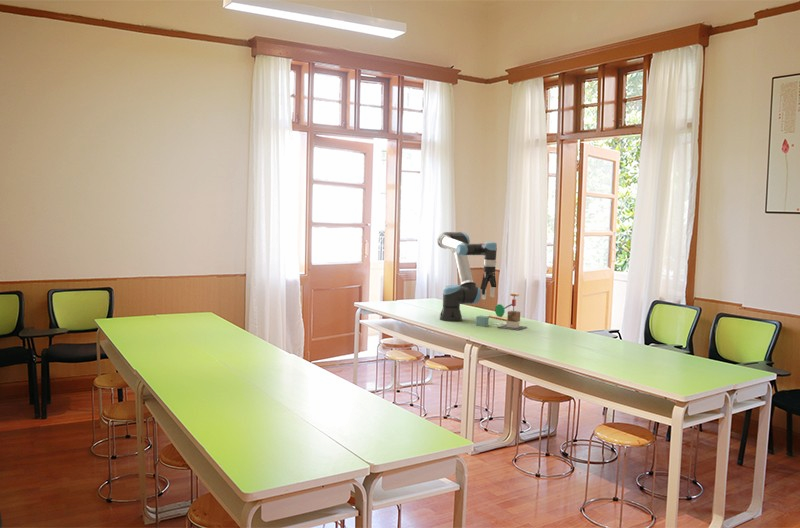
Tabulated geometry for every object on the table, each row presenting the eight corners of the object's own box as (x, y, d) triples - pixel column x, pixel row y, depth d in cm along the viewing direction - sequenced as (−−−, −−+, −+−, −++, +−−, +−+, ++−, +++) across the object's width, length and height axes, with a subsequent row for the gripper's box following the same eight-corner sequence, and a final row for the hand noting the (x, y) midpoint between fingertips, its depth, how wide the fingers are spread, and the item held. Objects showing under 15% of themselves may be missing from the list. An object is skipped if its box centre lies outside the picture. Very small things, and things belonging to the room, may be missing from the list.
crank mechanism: (520, 322, 451) (521, 294, 449) (513, 322, 447) (514, 294, 445) (494, 316, 471) (495, 289, 469) (488, 317, 467) (489, 290, 465)
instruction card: (493, 324, 438) (493, 323, 438) (498, 323, 444) (498, 322, 444) (507, 326, 432) (507, 325, 432) (511, 324, 438) (511, 324, 438)
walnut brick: (507, 320, 427) (507, 311, 426) (510, 319, 431) (511, 310, 431) (516, 321, 423) (516, 312, 423) (519, 320, 428) (520, 311, 427)
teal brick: (476, 325, 432) (476, 316, 432) (480, 324, 437) (480, 315, 437) (484, 326, 429) (484, 317, 428) (488, 325, 434) (488, 316, 434)
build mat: (498, 327, 426) (498, 320, 425) (507, 324, 437) (507, 318, 437) (518, 330, 418) (518, 323, 418) (527, 327, 430) (527, 320, 429)
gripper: (487, 268, 417) (485, 301, 419) (502, 265, 438) (500, 296, 440) (476, 266, 421) (474, 299, 423) (492, 263, 442) (490, 295, 444)
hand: (487, 298), depth 432 cm, fingers open, 13 cm apart
